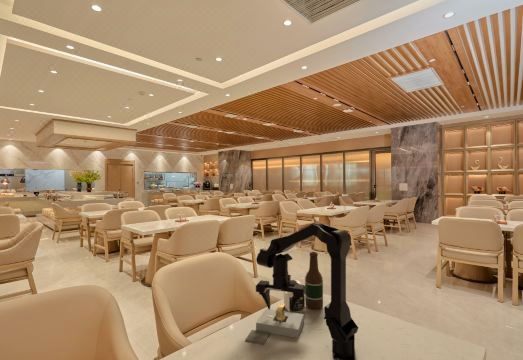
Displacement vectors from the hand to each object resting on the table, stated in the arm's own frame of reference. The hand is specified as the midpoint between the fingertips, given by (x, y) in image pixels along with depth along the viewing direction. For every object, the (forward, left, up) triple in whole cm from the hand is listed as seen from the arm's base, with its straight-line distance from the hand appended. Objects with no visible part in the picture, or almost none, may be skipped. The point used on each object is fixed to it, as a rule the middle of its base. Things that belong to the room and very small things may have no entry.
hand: (280, 310), depth 108 cm
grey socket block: (0, 0, -6) cm, 6 cm away
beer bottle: (-10, -21, -6) cm, 24 cm away
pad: (+6, +10, -6) cm, 13 cm away
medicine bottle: (-2, -16, -6) cm, 17 cm away
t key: (0, 0, -6) cm, 6 cm away
